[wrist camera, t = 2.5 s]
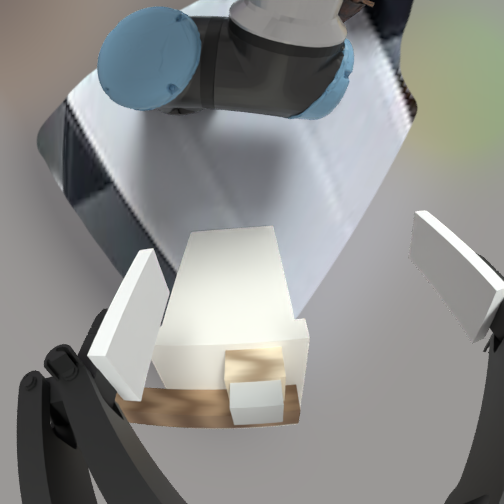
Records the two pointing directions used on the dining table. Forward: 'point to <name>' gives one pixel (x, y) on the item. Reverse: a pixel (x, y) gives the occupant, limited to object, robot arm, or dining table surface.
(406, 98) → the dining table surface
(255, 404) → the grey offcut
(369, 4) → the butter churn
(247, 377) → the birch offcut
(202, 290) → the cream stand
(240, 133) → the dining table surface
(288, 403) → the walnut block
